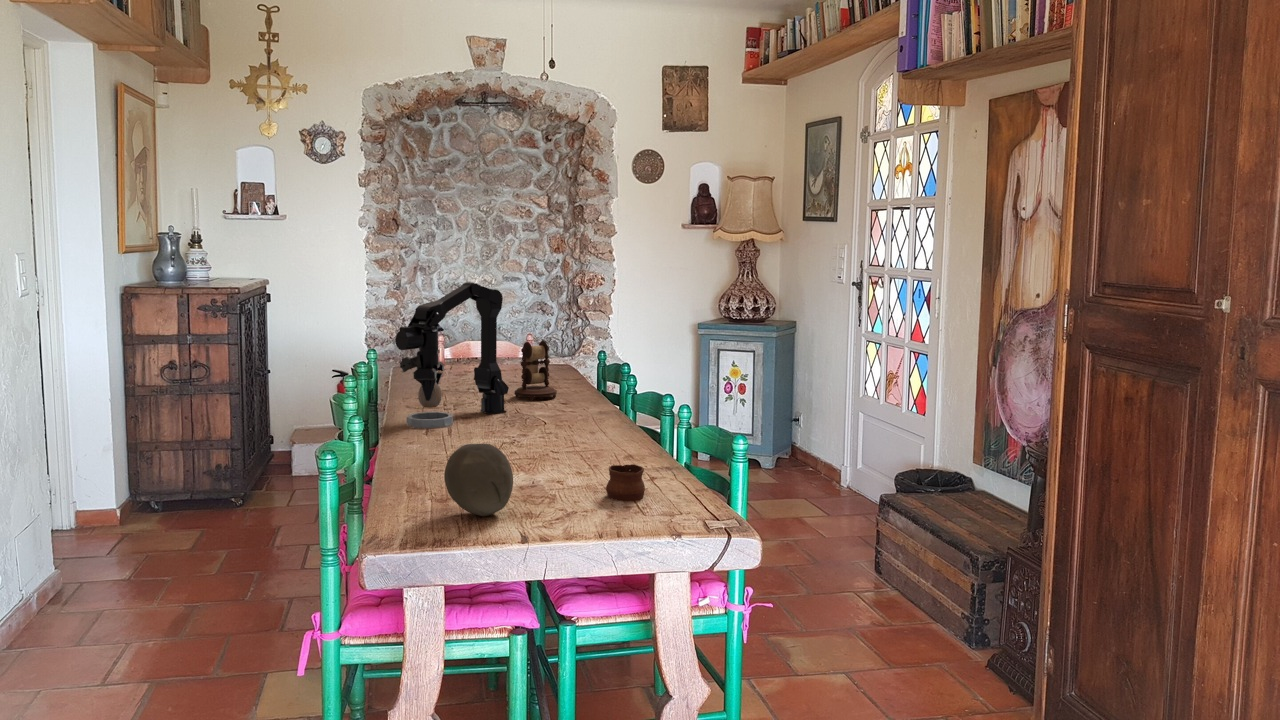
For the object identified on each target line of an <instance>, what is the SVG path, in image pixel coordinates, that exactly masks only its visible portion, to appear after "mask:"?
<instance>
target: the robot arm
mask: <svg viewBox="0 0 1280 720" xmlns="http://www.w3.org/2000/svg"><path fill="white" fill-rule="evenodd" d="M503 299H504V298H503V293H502V292H501V291H500V290H499V289H493V288H492V289H491V288H488V287H486V286H482V285H480V284H478V283H476V282H471V281H470V282H469V281H468V282H467V281H466V282H464V283H462V284H461V285H460V286H459V287H457V288H455V289H454V290H452V291H450V292H449V293H447V294H445V295H444V296H443V297H441V298H439V299H437V300H434V301H430V302H429V301H428V302H425V303H423V304H420V305H418V306H417V307H416V308H415V311H414V315H413V316H412V317H411V320H410V321H409V323H408V325H407V326H400V327H399V331H397V333H396V335H395V337H394V341H395V346H396V347H397V349H398V350H400V351H407V350H417V349H418V351H417V352H416V355H415V356H412V357H409V356H406V357H402V358H401V361H400V362H399V368H400V369H401V370H402V372H403V373H406V372H408V371H409V370H412V369H415V368H416V369H415V371H414V372H413V380H415V381H417V382H418V383H419V384H420V386H421V385H422V388H423V392H424V395H425V399H426V401H429V400H430V398H431V395H432V392H433V389H434V386H435V383H437V384H438V385H439V384H440V381H441V379H442V376H443V374H444V371H445V364H444V363H443V362H442V361H440V359H439V358H440V357H439V354H440V349H439V332H444V331H445V329H444V328H443V327H442V326H441V325H440V324H439V323H441V322H442V321H443V320H444V319H445V317H446V315H447V313H449V312H450V311H451V310H453V309H455V308H456V307H459V306H460V305H461V304H463V303H464V302H466V301H467V300H472V301H474V302H475V306H476V310H477V313H478V314H479V316H480V362H479V364H478V366H477V367H476V366H475V367H474V368H473V372H474V377H473V380H474V383H475V386H477V390H478V392H479V393H480V394H482V398H481V399H480V400H481V401H480V407H481V408H480V412H482V413H485V414H488V415H493V414H494V415H495V414H503V413H504V414H505V413H507V410H505V395H507V394H508V392H509V389H510V388H509V386H508V385H507V383H505V381H504V380H503V376H502V370H501V367H500V366H499V364H498V363H497V362H498V361H497V356H498V355H497V353H498V352H497V342H498V341H497V336H498V335H497V334H498V333H497V329H498V327H497V325H498V324H497V323H498V316H499V314H500V313H501V310H502V308H503V307H502V306H503Z"/></svg>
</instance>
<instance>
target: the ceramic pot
mask: <svg viewBox="0 0 1280 720" xmlns="http://www.w3.org/2000/svg"><path fill="white" fill-rule="evenodd" d="M644 471H645V468H644V467H643V466H640V465H637V464H636V463H632V464H625V465H621V464H619V465H617V464H615V465H614V464H613V465H611V466H609V467H608V474H609V479H608V482H607V483H606V487H605V491H606V494H607V497H608V498H609V499H610V500H614V501H617V502H619V501H620V502H636V501H641V500H643V499H644V495H645V491H646V487H645V483H644V482H645V481H643V474H644Z"/></svg>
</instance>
